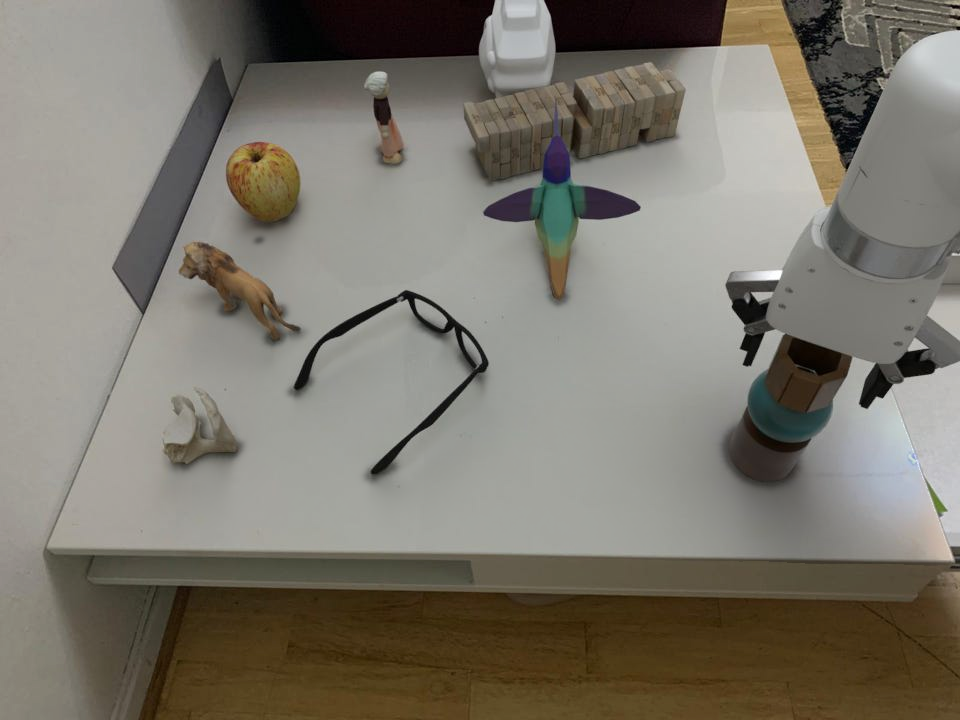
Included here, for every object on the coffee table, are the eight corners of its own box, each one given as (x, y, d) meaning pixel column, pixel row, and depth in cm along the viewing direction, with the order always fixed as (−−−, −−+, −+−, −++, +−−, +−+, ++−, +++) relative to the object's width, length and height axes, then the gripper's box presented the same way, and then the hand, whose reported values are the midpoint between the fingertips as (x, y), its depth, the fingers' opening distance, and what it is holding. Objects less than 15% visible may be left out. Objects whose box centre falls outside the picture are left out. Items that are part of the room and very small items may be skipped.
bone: (135, 442, 76) (145, 367, 71) (188, 422, 81) (202, 351, 76) (185, 492, 73) (199, 418, 68) (237, 468, 78) (254, 397, 73)
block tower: (651, 111, 108) (464, 150, 104) (661, 58, 101) (461, 98, 97) (674, 142, 104) (480, 185, 99) (687, 89, 97) (478, 132, 92)
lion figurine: (193, 307, 89) (163, 256, 82) (220, 278, 92) (194, 226, 84) (289, 348, 84) (266, 298, 77) (315, 316, 87) (296, 265, 80)
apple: (286, 179, 102) (265, 118, 94) (321, 210, 98) (303, 150, 90) (230, 210, 99) (203, 150, 91) (264, 244, 95) (239, 184, 87)
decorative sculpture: (615, 193, 97) (628, 95, 85) (631, 298, 86) (648, 203, 74) (488, 197, 98) (483, 100, 86) (487, 302, 87) (481, 208, 75)
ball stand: (806, 439, 74) (853, 365, 64) (788, 497, 71) (835, 429, 60) (736, 412, 76) (770, 336, 66) (715, 467, 73) (748, 397, 62)
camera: (550, 62, 115) (553, -42, 102) (557, 133, 105) (561, 28, 92) (481, 65, 116) (476, -38, 103) (481, 136, 105) (474, 32, 92)
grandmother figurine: (412, 164, 103) (399, 84, 92) (386, 171, 102) (370, 92, 92) (395, 133, 107) (381, 53, 97) (370, 140, 106) (354, 61, 96)
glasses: (505, 387, 81) (506, 360, 77) (378, 483, 74) (371, 458, 70) (413, 305, 88) (409, 277, 84) (290, 385, 81) (279, 358, 77)
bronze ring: (839, 372, 64) (857, 341, 60) (824, 421, 61) (842, 391, 57) (774, 350, 66) (788, 319, 62) (757, 397, 63) (771, 367, 59)
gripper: (1038, 229, 47) (922, 377, 61) (770, 159, 53) (720, 310, 66) (1028, 310, 43) (907, 448, 57) (741, 225, 49) (694, 370, 63)
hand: (806, 374), depth 62 cm, fingers open, 9 cm apart
